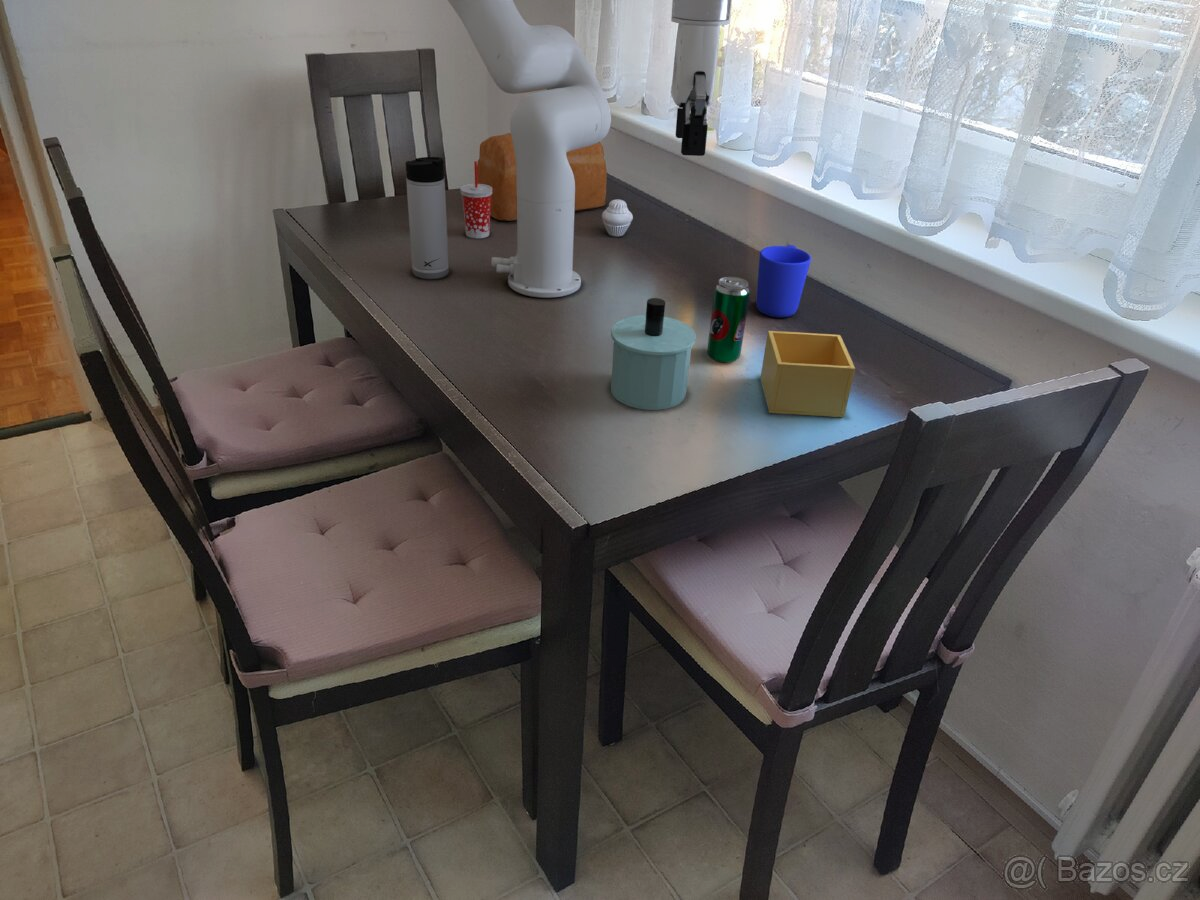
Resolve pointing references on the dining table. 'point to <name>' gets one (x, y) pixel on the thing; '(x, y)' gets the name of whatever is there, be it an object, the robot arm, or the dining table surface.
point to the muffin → (617, 218)
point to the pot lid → (653, 332)
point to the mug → (781, 280)
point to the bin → (806, 374)
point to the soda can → (728, 319)
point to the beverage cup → (476, 208)
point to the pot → (649, 378)
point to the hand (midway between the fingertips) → (689, 146)
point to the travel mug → (427, 217)
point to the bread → (502, 177)
